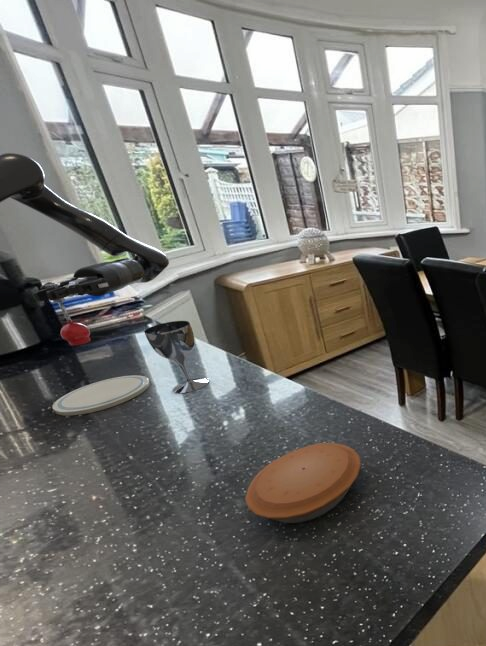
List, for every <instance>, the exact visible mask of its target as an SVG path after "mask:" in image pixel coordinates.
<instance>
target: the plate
mask: <svg viewBox="0 0 486 646" xmlns="http://www.w3.org/2000/svg"><path fill="white" fill-rule="evenodd" d="M150 385H151V382H150V380H149V378H148V377H147V376H144V375H140V374H139V375H138V374H137V375H136V374H135V375H131V374H130V375H123V376H122V375H121V376H117V377H112V378H107V379H103V380H100V381H96V382H93V383H90V384H86V385H83V386H81V387H79V388H77V389H74V390H72V391H69V392H68V393H66V394H65V395H63V396H61V397H59V398H58V399H57V400H56V401H54V403H53V404H52V406H51V407H52V408H51V409H52V410H53V412H54V414H56V415H59V416H66V417H68V416H79V415H87V414H90V413H91V414H92V413H96V412H100V411H103V410H107V409H109V408H113V407H115V406H118V405H121V404H123V403H125V402H128V401H130V400H132V399H135V398H136V397H138V396H140V395H141V394H143V393H144V392H146V391H147V389H148V388H149V387H150Z"/></svg>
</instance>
